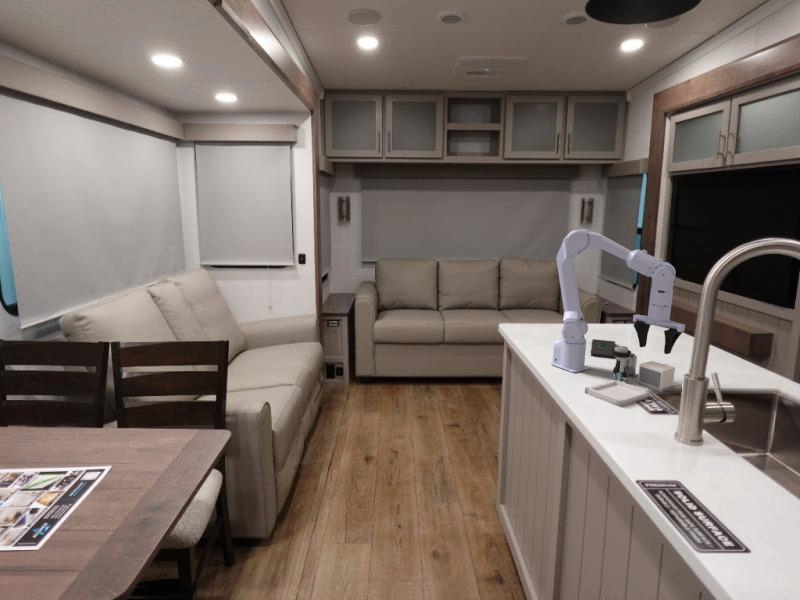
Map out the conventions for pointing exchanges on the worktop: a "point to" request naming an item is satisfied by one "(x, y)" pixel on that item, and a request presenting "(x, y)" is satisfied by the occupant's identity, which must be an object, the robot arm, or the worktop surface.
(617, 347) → the push button
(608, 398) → the tray
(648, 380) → the panel
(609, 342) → the smart home device
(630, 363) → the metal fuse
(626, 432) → the worktop surface
